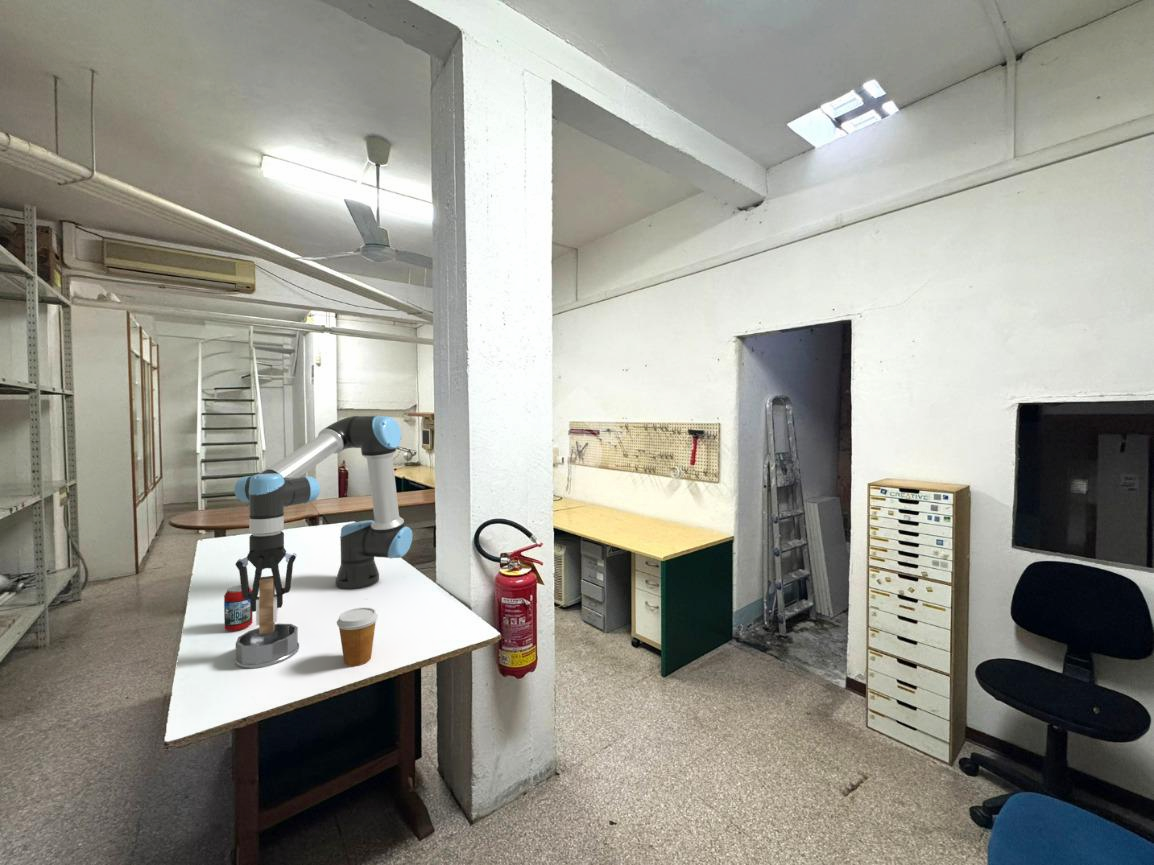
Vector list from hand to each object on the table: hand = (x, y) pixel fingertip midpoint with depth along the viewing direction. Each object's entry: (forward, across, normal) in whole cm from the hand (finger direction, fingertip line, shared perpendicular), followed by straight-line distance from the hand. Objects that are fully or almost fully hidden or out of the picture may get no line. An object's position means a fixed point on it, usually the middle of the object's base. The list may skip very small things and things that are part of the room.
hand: (267, 621), depth 120 cm
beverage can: (+9, +10, -23) cm, 27 cm away
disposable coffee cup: (+9, -21, +14) cm, 27 cm away
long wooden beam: (+3, 0, 0) cm, 3 cm away
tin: (+9, 0, 0) cm, 9 cm away
